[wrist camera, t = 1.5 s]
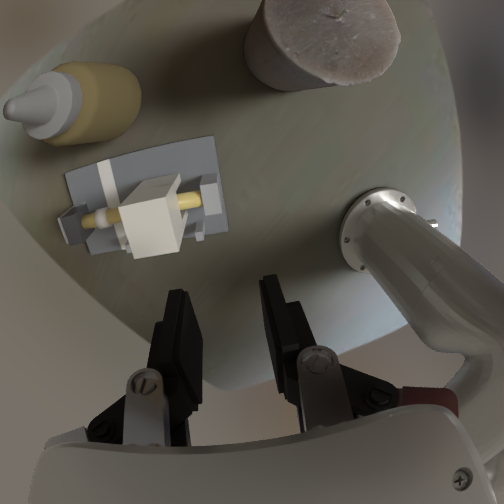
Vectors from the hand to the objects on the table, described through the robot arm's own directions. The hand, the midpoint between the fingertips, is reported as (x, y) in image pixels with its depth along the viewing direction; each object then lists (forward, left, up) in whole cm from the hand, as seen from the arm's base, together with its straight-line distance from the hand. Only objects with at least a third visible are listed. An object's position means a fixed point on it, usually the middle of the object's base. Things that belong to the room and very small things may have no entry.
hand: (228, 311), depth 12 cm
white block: (+6, 0, -19) cm, 20 cm away
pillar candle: (-9, -14, -21) cm, 27 cm away
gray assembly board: (+9, 0, -21) cm, 23 cm away
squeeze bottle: (+10, -12, -21) cm, 26 cm away
